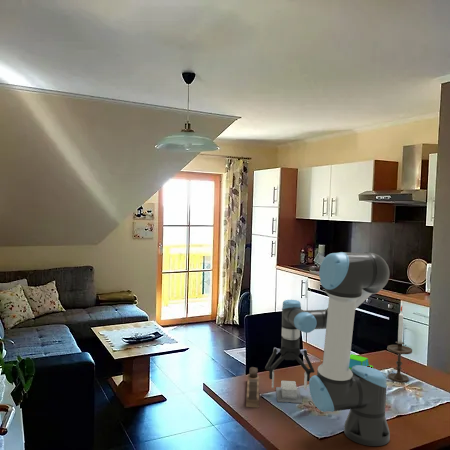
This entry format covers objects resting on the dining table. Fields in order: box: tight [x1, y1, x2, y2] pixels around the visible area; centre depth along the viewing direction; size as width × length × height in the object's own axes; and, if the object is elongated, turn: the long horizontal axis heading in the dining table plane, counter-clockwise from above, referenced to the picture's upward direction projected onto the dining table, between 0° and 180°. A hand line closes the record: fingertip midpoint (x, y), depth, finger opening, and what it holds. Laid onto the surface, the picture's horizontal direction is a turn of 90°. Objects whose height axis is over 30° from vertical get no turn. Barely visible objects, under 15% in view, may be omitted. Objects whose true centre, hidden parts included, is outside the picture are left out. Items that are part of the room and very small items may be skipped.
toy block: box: [349, 353, 374, 370], centre depth 206 cm, size 10×13×10 cm
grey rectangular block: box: [280, 380, 298, 400], centre depth 183 cm, size 9×6×4 cm, turn 176°
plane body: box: [245, 366, 260, 408], centre depth 184 cm, size 26×5×10 cm, turn 176°
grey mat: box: [275, 386, 303, 404], centre depth 183 cm, size 14×10×1 cm
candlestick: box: [386, 305, 413, 383], centre depth 204 cm, size 11×11×35 cm
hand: (289, 387), depth 183 cm, fingers open, 13 cm apart
